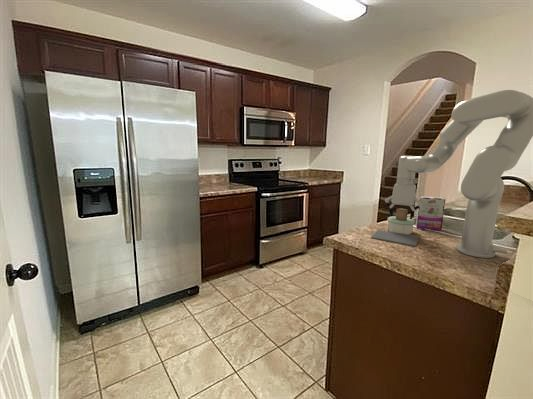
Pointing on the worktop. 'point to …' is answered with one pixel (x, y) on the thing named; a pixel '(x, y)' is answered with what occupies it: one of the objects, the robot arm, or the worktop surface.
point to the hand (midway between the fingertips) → (401, 216)
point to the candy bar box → (430, 213)
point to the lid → (401, 218)
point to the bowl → (400, 228)
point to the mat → (396, 238)
